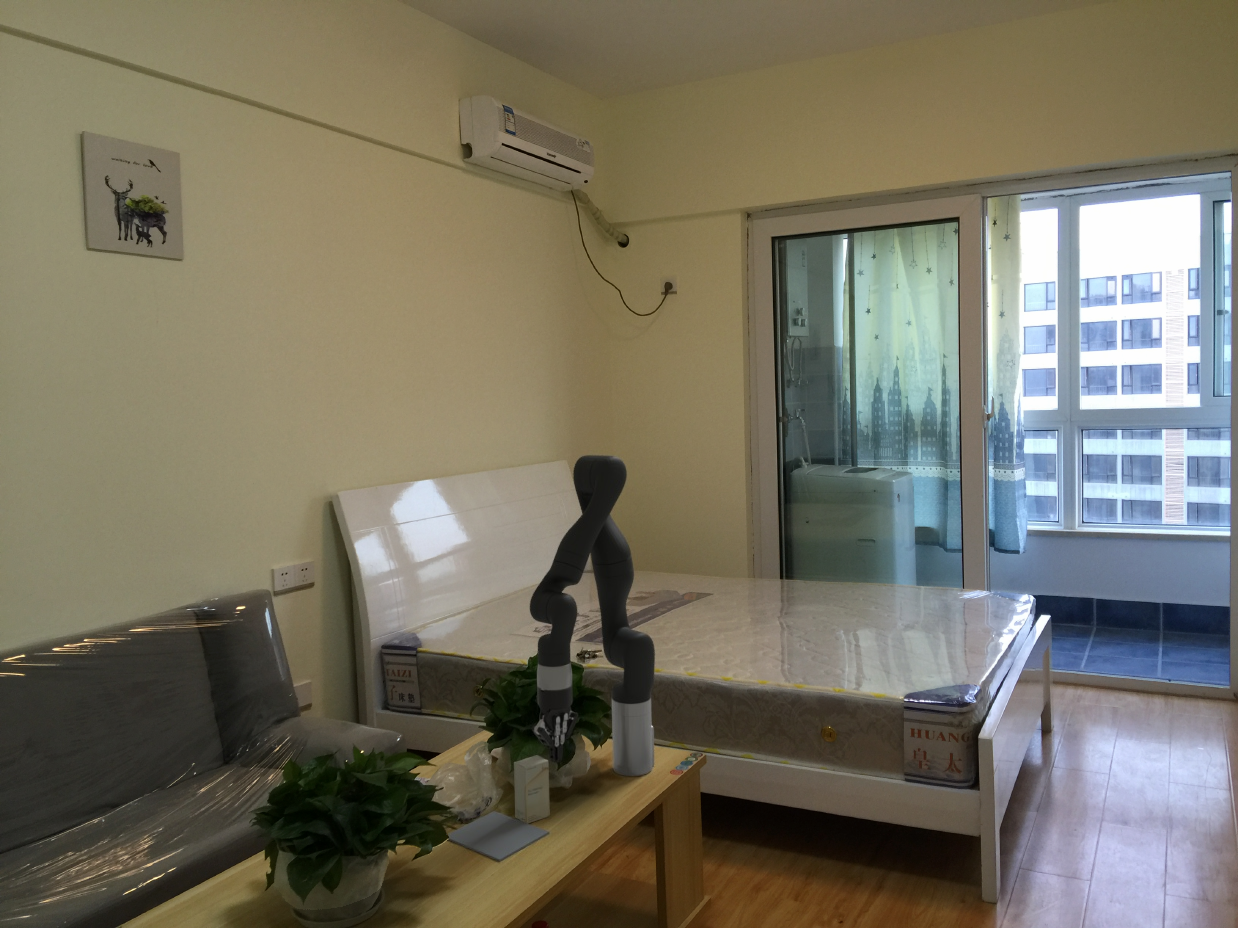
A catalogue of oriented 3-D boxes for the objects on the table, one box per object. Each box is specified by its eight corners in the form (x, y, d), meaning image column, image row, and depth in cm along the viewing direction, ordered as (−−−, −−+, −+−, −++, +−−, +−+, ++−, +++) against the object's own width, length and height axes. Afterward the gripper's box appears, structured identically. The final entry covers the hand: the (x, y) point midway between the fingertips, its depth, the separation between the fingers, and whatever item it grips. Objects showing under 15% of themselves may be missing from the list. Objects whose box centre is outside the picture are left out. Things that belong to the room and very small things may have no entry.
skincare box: (526, 824, 199) (524, 768, 198) (514, 817, 202) (512, 761, 201) (551, 815, 203) (549, 759, 202) (538, 808, 206) (537, 753, 205)
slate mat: (494, 812, 205) (494, 810, 205) (549, 833, 195) (549, 831, 195) (444, 837, 194) (443, 835, 194) (499, 861, 184) (499, 859, 184)
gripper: (562, 672, 214) (563, 747, 216) (520, 687, 204) (522, 766, 205) (587, 678, 209) (589, 755, 211) (546, 694, 199) (548, 775, 201)
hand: (556, 760), depth 208 cm, fingers closed
